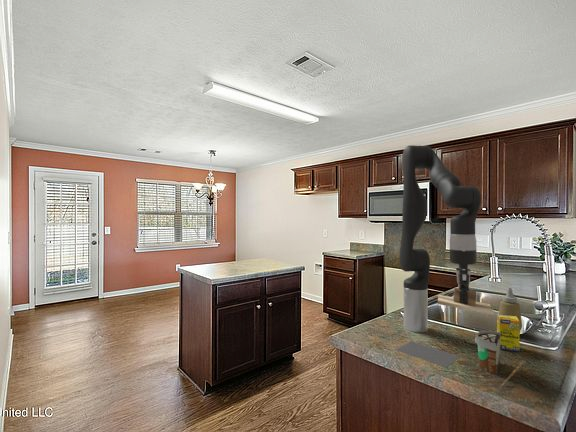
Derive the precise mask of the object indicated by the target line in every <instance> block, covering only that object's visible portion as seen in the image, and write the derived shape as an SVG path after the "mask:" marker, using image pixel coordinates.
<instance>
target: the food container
mask: <svg viewBox="0 0 576 432" xmlns="http://www.w3.org/2000/svg"><path fill="white" fill-rule="evenodd" d="M500 338H501V336H500V332H497V330H496V331H493V330H481V331H478V332H477V333H476V335H475V339H474V342H475V343H476V344H477V352H478V366H479V367H480V368H481V370H483V371H485V372H487V373H489V374H492V375H496V376H497V374H498V370H499V366H500V364H501V349H500Z"/></svg>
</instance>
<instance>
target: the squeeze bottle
mask: <svg viewBox="0 0 576 432" xmlns="http://www.w3.org/2000/svg"><path fill="white" fill-rule="evenodd" d="M521 313H522V312H521V305H520V304H519V302H518V298H517V296H514V293H513V289H512V287H507V291H506V295H502V300H501V301H500V302H499V308H498V314H500V315H507V316H516V317H517V318H518V320H519V321H520V331H522V327H523V323H522V314H521Z"/></svg>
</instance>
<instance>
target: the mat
mask: <svg viewBox="0 0 576 432" xmlns="http://www.w3.org/2000/svg"><path fill="white" fill-rule="evenodd" d="M395 351H398V352H400V353H403V354H407V355H410V356H413V357H415V358H418V359H420V360H423V361H426V362H429V363H432V364H435V365H438V366H440V367H442V368H443V367H444V368H448V367H449V366H451V365H452V364H453V363H454V362H456V361H457V360H458V359H460V358H461V356H459V355H456V354H453V353H450V352H447V351H444V350H440V349H437V348H434V347H432V346H431V347H430V346H428V345H426V344H425V345H424V344H422V343H419V342H415V341H412V340H411V341H409V342H407V343H405V344H403V345H402V346H399V347H398V348H396V349H395Z"/></svg>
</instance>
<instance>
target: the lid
mask: <svg viewBox="0 0 576 432" xmlns="http://www.w3.org/2000/svg"><path fill="white" fill-rule="evenodd" d="M453 290H454V291H453V296H449V295H441V294H438V295H437V305H442V306H445V307H450V308H455V309H456V308H457V309H463V310H466V311H472V312H478V313H482V314H488V315H494V309H493V307H492V306H491V304H490V303H486V302H480V301H477V291H476V290H472V289H469V291H468V303H467V304H461V303H460V291H459V287H455V286H454V288H453Z"/></svg>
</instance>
